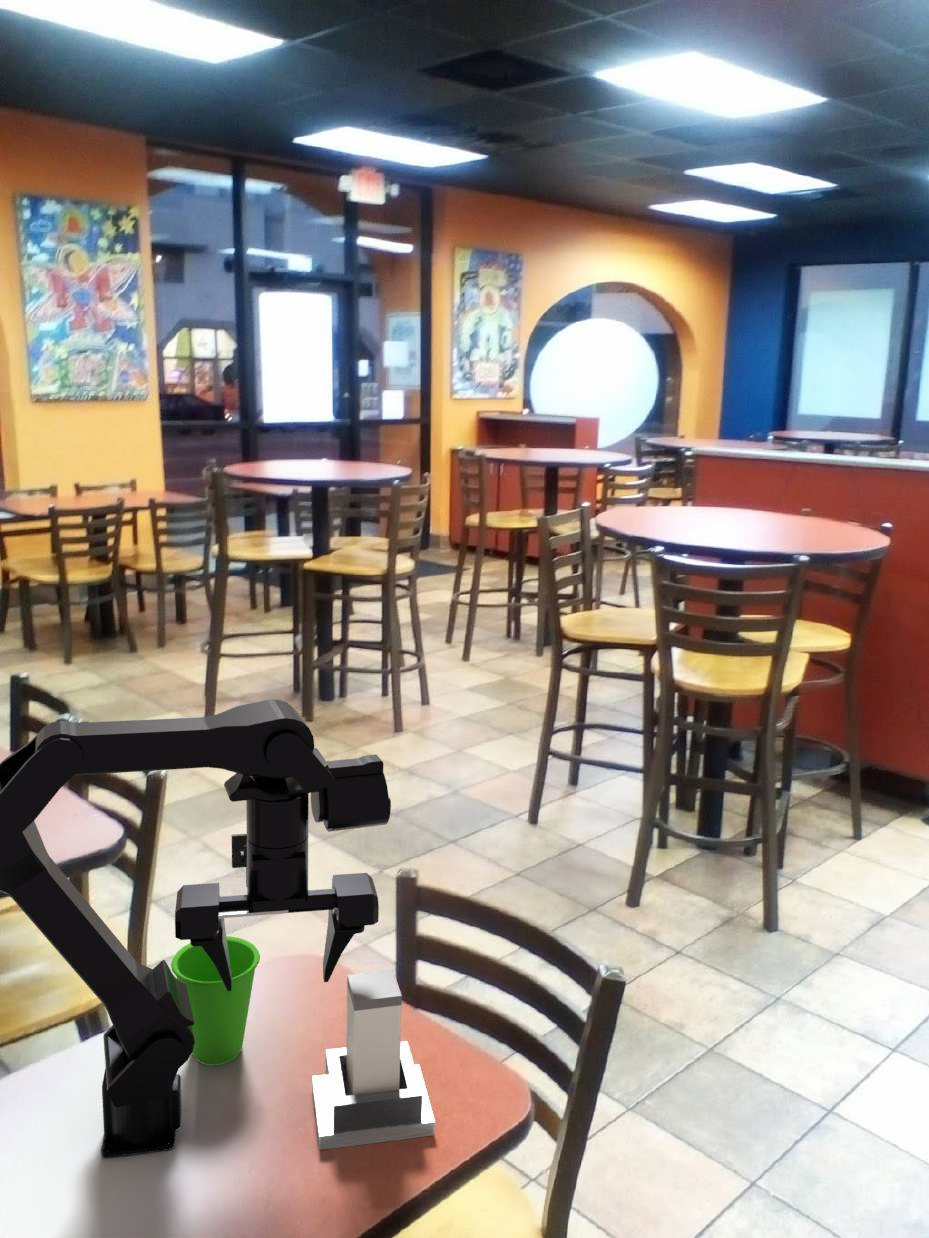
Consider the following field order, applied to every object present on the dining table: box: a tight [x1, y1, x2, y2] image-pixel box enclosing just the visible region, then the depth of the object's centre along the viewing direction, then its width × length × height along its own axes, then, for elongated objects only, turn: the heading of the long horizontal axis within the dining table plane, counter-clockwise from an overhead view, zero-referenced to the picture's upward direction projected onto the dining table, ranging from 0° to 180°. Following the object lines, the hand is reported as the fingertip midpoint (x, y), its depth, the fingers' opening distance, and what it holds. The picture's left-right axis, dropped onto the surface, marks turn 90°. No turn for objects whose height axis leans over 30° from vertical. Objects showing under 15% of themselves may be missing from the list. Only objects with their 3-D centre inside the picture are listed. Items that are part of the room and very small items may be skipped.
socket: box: [312, 1040, 436, 1151], centre depth 100 cm, size 11×9×4 cm
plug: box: [345, 969, 403, 1096], centre depth 99 cm, size 4×4×12 cm
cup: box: [170, 935, 261, 1066], centre depth 107 cm, size 9×9×11 cm
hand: (278, 984), depth 98 cm, fingers open, 9 cm apart
